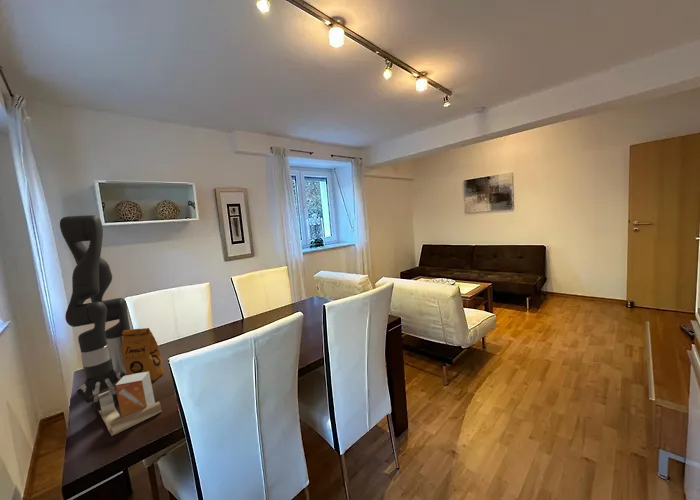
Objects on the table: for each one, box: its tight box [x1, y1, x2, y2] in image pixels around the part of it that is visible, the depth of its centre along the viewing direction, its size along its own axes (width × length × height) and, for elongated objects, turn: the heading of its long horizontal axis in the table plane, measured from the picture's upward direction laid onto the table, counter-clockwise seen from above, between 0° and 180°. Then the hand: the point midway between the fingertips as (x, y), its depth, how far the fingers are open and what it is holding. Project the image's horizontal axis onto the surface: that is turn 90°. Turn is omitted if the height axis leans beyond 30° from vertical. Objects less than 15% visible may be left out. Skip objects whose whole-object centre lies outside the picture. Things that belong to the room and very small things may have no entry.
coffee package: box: [121, 327, 165, 382], centre depth 129 cm, size 10×12×22 cm
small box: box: [114, 371, 156, 418], centre depth 106 cm, size 8×6×13 cm
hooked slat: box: [98, 389, 163, 437], centre depth 110 cm, size 30×14×7 cm, turn 48°
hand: (107, 406), depth 107 cm, fingers closed on hooked slat, 3 cm apart
